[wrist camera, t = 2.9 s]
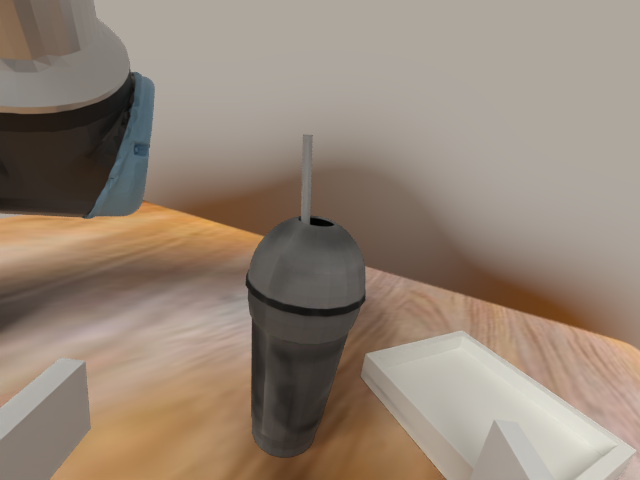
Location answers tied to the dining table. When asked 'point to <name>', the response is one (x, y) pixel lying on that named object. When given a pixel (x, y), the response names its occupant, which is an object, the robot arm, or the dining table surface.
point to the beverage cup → (299, 321)
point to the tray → (485, 409)
